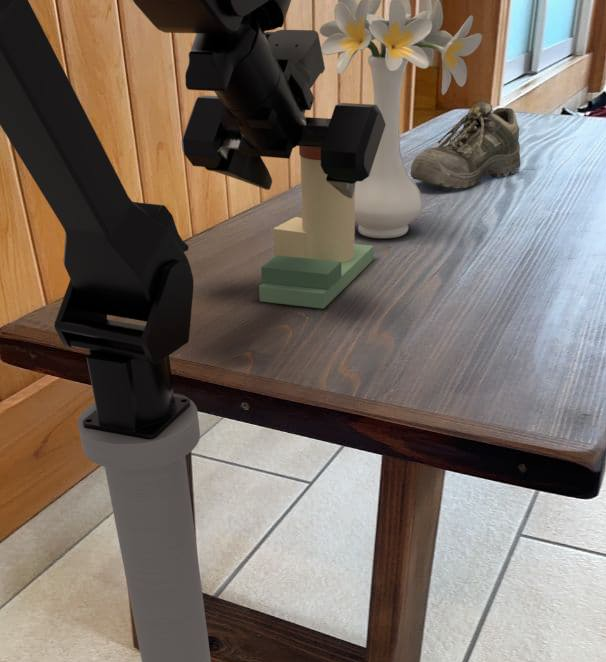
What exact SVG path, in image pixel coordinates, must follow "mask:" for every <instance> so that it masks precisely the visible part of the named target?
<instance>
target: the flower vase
mask: <svg viewBox="0 0 606 662" xmlns="http://www.w3.org/2000/svg"><path fill="white" fill-rule="evenodd" d="M381 4H382V0H360V1H359V2H357V0H338V2H336V4H335V6H334V9H333V14H334V15H333V17H334V20H330V21H327V22H325V23H323V24H322V25H321V26H320V27H319V33H320V35H321V36H323V37H325V38H326V39H325V40H324V41H323V42H322V44H321V50H322V55H323V56H331V55H334V54H338V59H337V62H336V72H337V74H338V75H341V74H343V73H344V72H345V71H346V69H348V67H349V64H350V63H351V61H352V59H353V58H354V56H355V55H356V54H357V53H358V52H359V51H362V50H365V49H366V48H367V49H369V50H370V52H371V55H368V57H367V63H368V65H369V67H370V71H371V78H372V86H373V105H377V106H378V108H379V110H380V111H381V113H382V116H383V119H384V121H385V124H386V125H385V128H384V132H383V135H382V138H381V141H380V144H379V147H378V150H377V153H376V156H375V159H374V162H373V165H372V169H371V172H370V175H369V177H367V178H366V179H364V180H363V181H357V182H356V183H355V224H357V225H358V226H357V231H358V233H359V234H360V235H362V236H364V237H366V238H372V239H395V238H399V237H403V236H404V235H406V234H407V233H408V232H409V225H410V224H411V223H413V222H414V221H415V220H416V219H417V217H418V216H419V215H420V213H421V211H422V210H423V206H424V204H423V198H422V193H421V190H420V188H419V187H418V185H417V183H416V182H415V181H414V179H413V178H412V177H411V176H410V175H409V174H408V172H407V169H406V167H405V165H404V161H403V158H402V152H401V142H400V141H401V140H400V139H401V138H400V137H401V136H400V111H401V110H400V108H401V107H400V106H401V105H400V104H401V94H402V93H401V92H402V85H403V79H404V74H405V71H406V70H405V69H406V66H407V64H408V63H410V64H412V65H414V66H415V67H417V68H419V69H424V70H425V69H428V68H429V66H430V62H431V61H433V60H434V58H435V54H434V51H433V50H435V51H437V52H439V53H440V54H441V66H442V76H441V94H442V96H444V95H445V94H446V93H448V92H447V91H448V90H449V88H450V85H451V82H452V77H453V79H454V81H455V82H456V85H458V87H461V88H462V87H464V86H465V84H466V82H467V79H468V67H467V64H466V62H465V60H464V59H463V58H462V57H468V56H469V55H471V54H472V53H474V52H475V51H476V50H477V49H478V47H479V46H480V45H481V43H482V39H483V35H482V33H474V34H471V35H469V36H467V35H468V34H469V32H470V31H471V28H472V25H473V22H474V16H473V15H469V16H468V17H467V19H466V20H465V22H464V23H463V24H462V25H461V27H460V28H459V30H458V31H457V32H456V33H455V34H454V36H453V35H452V34H451V33H449V32H448V31H446V30H440V29H441V28H442V25H443V21H444V11H443V6H442V2H441V1H440V0H435V2H434V5H433V4H432V0H426V10H423V11H421V12H419V13H417V14H416V15H415V16H413V17H411V16H412V7H411V3H410V0H390V3H389V6H388V19H387V20H386V19H384V18H383V17H382V16H380V15H377V12H378V10H379V8H380V6H381ZM375 40H377V42H379V43H381V46H380V47H381V53H380V51H379V48H378V46H377V45H376V44H375V42H373V41H375Z"/></svg>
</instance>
